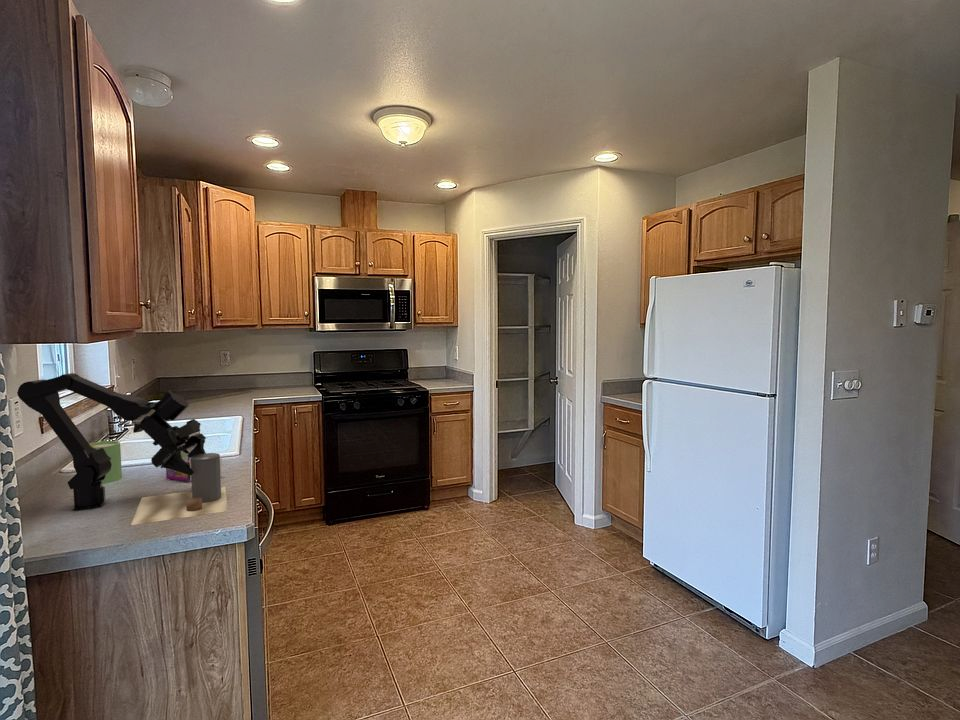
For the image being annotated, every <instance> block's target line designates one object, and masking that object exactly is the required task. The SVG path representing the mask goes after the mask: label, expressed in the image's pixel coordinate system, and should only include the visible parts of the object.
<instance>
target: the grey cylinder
mask: <svg viewBox="0 0 960 720" xmlns="http://www.w3.org/2000/svg"><path fill="white" fill-rule="evenodd" d="M220 457H221V456H220V453H217V452H215V453H214V452H208V453H206V452H205V454H198V455H195V456H192V457H191V469H192V471H193V472H194V473H193V474H192V475H191V480H192V482H191V491H192V498H202V503H206V502H212V501H216V500H218V499H220V498H221V487H222V485H221V484H222V482H221V480H222V479H221V478H220Z"/></svg>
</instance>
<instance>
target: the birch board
mask: <svg viewBox="0 0 960 720" xmlns="http://www.w3.org/2000/svg"><path fill="white" fill-rule="evenodd" d="M226 491H227V490H226V486H221V498H220V499H218V500H216V501H212V502H206V503H202V509H200V510H197V511H187V509H186V500H188V499H191V498H192V490H190V491H182V492H175V493H165V494H159V495H152V496H149V495H148V496H144V497H141V499H140V501H139V504H138V506H137V509H136V511H135V512H134V513H135V514H134V516H133V519H132V521H131V523H130V526H136V525H142V524H143V525H144V524H149V523H156V522H163V521H169V520H177V519H183V518H188V517H189V518H190V517H197V516H204V515H205V516H206V515H210V514H211V515H212V514H217V513H223V512H228V503H227V501H228V500H227V492H226Z"/></svg>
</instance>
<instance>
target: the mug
mask: <svg viewBox="0 0 960 720" xmlns="http://www.w3.org/2000/svg"><path fill="white" fill-rule="evenodd" d="M89 445H90V446H91V447H93V448H95V449H96V450H98V449H100V448H103V449H104V450H105V452H106V454H107V455H108V456H109V457H110V458H111V459H110V461H111V464H112V466H111V470H110V471H109V473H107V474H106V476H105V479H104V480H102V485H104V484H109V483H113V482H117V481H119V480H121V479H122V478H123V472H122V471H123V470H122V451H121V449H122V447H121V442H120V441H118V440H105V441H104V440H103V441H95V442H90V443H89ZM103 483H104V484H103Z"/></svg>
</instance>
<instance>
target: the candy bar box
mask: <svg viewBox="0 0 960 720" xmlns="http://www.w3.org/2000/svg"><path fill="white" fill-rule="evenodd" d="M195 434H201V430H200V431H199V432H195V433H193V434H191V435H189V436H190V437H191V436H193V435H195ZM190 437H189V438H190ZM186 441H187V440H186ZM181 448H182V447H181ZM187 455H188V454H186V453H184V452H183V451H181V458H182V459H183V460H184V461H185V462H186V463H187V465H188V466H189V467H190V468H191V458H190V457H188V456H187ZM165 475H166V478H165V479H166V480H168V479H169V481H175V480H176V482H182V481H183V482H184V483H189V482H190V483H192V480H191V475H188V474H185V473H181V472H178V471H175V470H171V469H167V468H165Z"/></svg>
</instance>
